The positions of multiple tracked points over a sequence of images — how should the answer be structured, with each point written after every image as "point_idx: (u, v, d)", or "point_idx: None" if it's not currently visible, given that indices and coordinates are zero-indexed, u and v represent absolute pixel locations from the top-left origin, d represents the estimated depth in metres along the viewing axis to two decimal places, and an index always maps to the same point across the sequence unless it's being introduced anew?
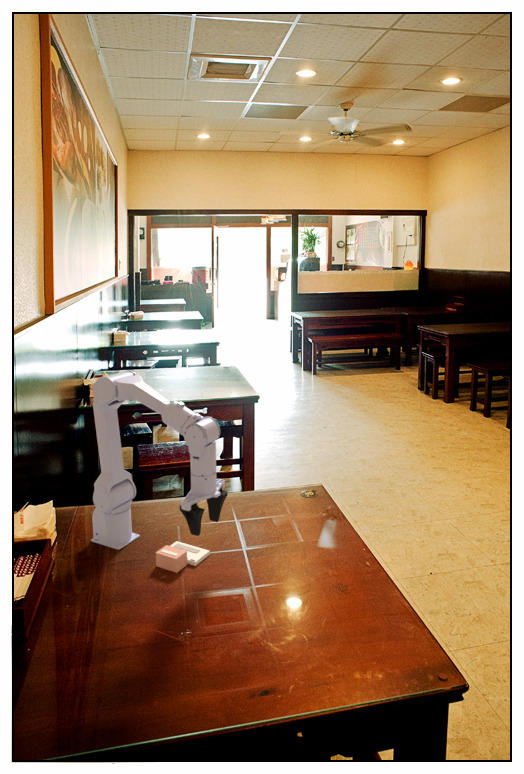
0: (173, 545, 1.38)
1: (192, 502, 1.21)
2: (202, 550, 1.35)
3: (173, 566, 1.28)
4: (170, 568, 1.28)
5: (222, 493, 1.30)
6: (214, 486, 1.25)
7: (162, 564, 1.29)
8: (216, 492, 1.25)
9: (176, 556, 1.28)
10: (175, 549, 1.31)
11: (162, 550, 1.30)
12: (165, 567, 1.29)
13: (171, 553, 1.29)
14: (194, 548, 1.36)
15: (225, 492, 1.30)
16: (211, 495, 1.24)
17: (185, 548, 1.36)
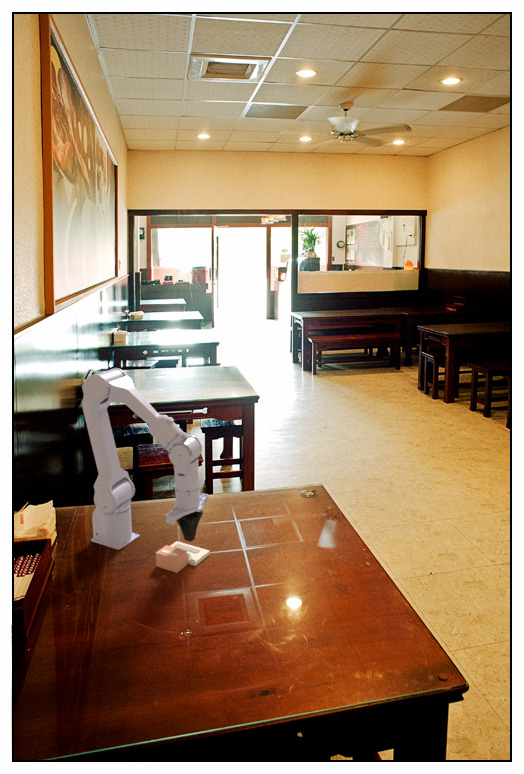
0: (173, 545, 1.38)
1: (176, 516, 1.28)
2: (202, 550, 1.35)
3: (173, 566, 1.28)
4: (170, 568, 1.28)
5: (197, 512, 1.34)
6: (197, 501, 1.32)
7: (162, 564, 1.29)
8: (199, 506, 1.33)
9: (176, 556, 1.28)
10: (175, 549, 1.31)
11: (162, 550, 1.30)
12: (165, 567, 1.29)
13: (171, 553, 1.29)
14: (194, 548, 1.36)
15: (200, 511, 1.35)
16: (194, 509, 1.32)
17: (185, 548, 1.36)
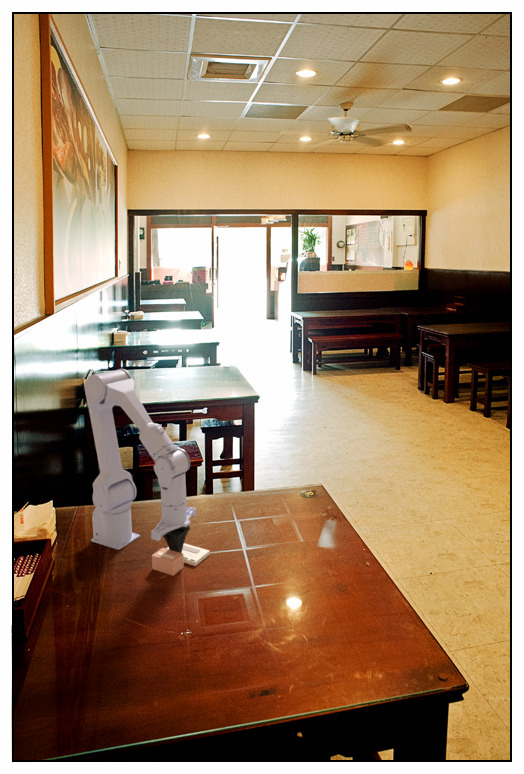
0: None
1: (162, 532, 1.24)
2: (202, 550, 1.35)
3: (170, 569, 1.26)
4: (166, 571, 1.27)
5: (184, 527, 1.30)
6: (184, 515, 1.28)
7: (159, 567, 1.28)
8: (186, 521, 1.28)
9: (172, 558, 1.27)
10: (171, 552, 1.30)
11: (158, 553, 1.29)
12: (161, 570, 1.28)
13: (168, 555, 1.28)
14: (194, 548, 1.36)
15: (187, 526, 1.31)
16: (181, 524, 1.27)
17: (185, 548, 1.36)
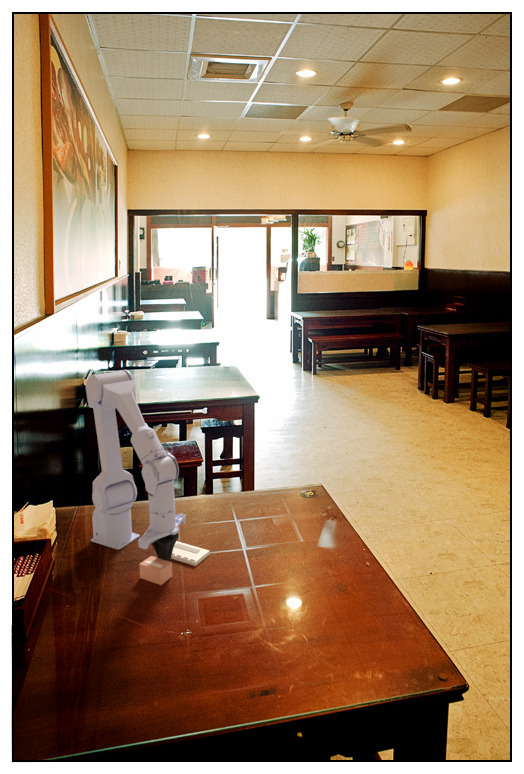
0: None
1: (149, 540, 1.21)
2: (202, 550, 1.35)
3: (158, 578, 1.23)
4: (154, 580, 1.24)
5: (173, 535, 1.26)
6: (173, 523, 1.25)
7: (146, 576, 1.24)
8: (175, 529, 1.25)
9: (160, 567, 1.23)
10: (160, 560, 1.26)
11: (146, 561, 1.26)
12: (149, 579, 1.24)
13: (156, 564, 1.24)
14: (194, 548, 1.36)
15: (176, 534, 1.27)
16: (169, 532, 1.24)
17: (185, 548, 1.36)
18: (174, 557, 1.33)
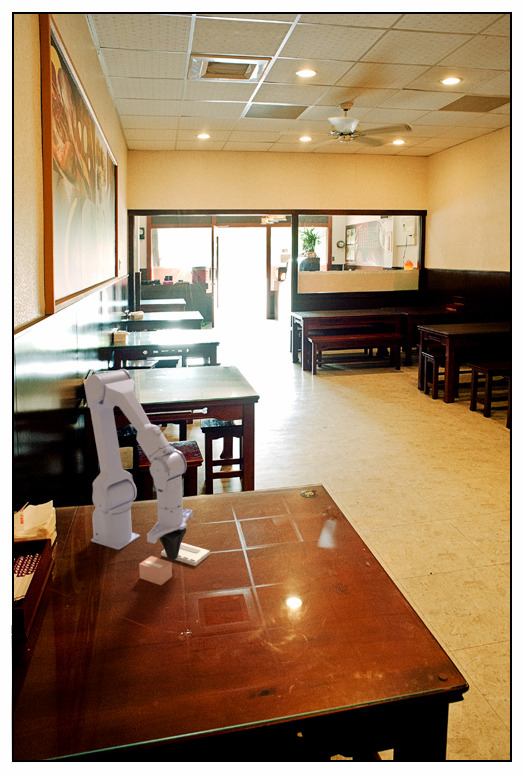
0: None
1: (158, 535, 1.23)
2: (202, 550, 1.35)
3: (157, 578, 1.23)
4: (154, 580, 1.23)
5: (180, 530, 1.29)
6: (180, 518, 1.27)
7: (146, 576, 1.24)
8: (182, 524, 1.27)
9: (160, 567, 1.23)
10: (159, 560, 1.26)
11: (146, 561, 1.26)
12: (149, 579, 1.24)
13: (155, 564, 1.24)
14: (194, 548, 1.36)
15: (184, 529, 1.29)
16: (177, 527, 1.26)
17: (185, 548, 1.36)
18: None
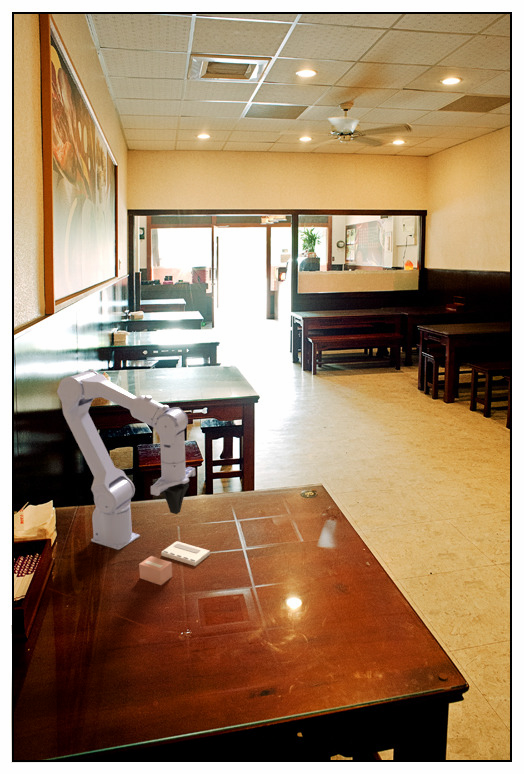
0: (173, 545, 1.38)
1: (161, 487, 1.28)
2: (202, 550, 1.35)
3: (157, 578, 1.23)
4: (154, 580, 1.23)
5: (183, 485, 1.34)
6: (183, 473, 1.32)
7: (146, 576, 1.24)
8: (185, 479, 1.33)
9: (160, 567, 1.23)
10: (159, 560, 1.26)
11: (146, 561, 1.26)
12: (149, 579, 1.24)
13: (155, 564, 1.24)
14: (194, 548, 1.36)
15: (186, 484, 1.35)
16: (180, 481, 1.32)
17: (185, 548, 1.36)
18: (174, 557, 1.33)
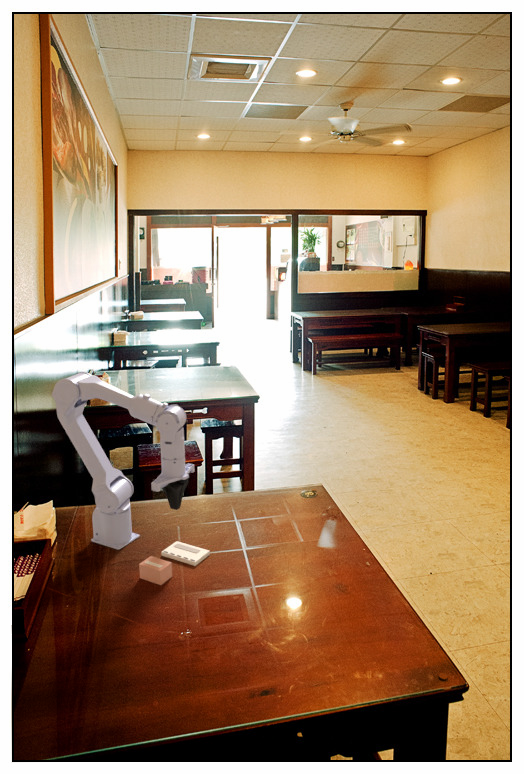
0: (173, 545, 1.38)
1: (161, 483, 1.30)
2: (202, 550, 1.35)
3: (157, 578, 1.23)
4: (154, 580, 1.23)
5: (183, 481, 1.36)
6: (183, 469, 1.34)
7: (146, 576, 1.24)
8: (185, 475, 1.35)
9: (160, 567, 1.23)
10: (159, 560, 1.26)
11: (146, 561, 1.26)
12: (149, 579, 1.24)
13: (155, 564, 1.24)
14: (194, 548, 1.36)
15: (186, 480, 1.37)
16: (180, 477, 1.34)
17: (185, 548, 1.36)
18: (174, 557, 1.33)
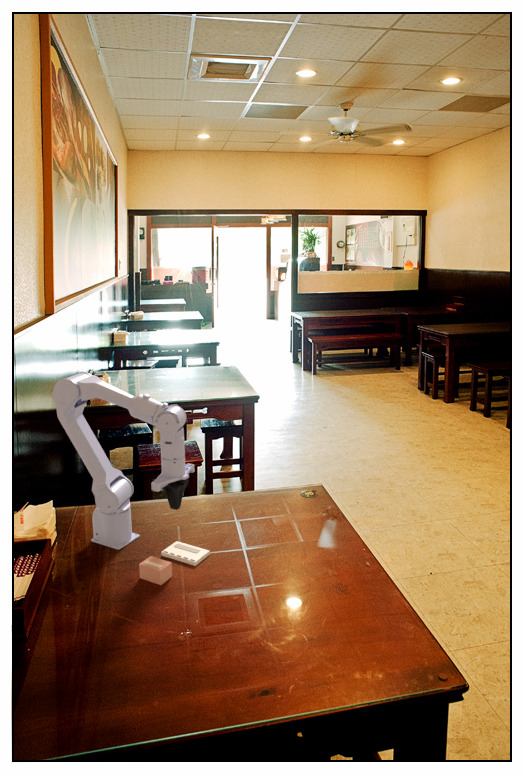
0: (173, 545, 1.38)
1: (161, 483, 1.30)
2: (202, 550, 1.35)
3: (157, 578, 1.23)
4: (154, 580, 1.23)
5: (183, 481, 1.36)
6: (183, 469, 1.34)
7: (146, 576, 1.24)
8: (185, 475, 1.35)
9: (160, 567, 1.23)
10: (159, 560, 1.26)
11: (146, 561, 1.26)
12: (149, 579, 1.24)
13: (155, 564, 1.24)
14: (194, 548, 1.36)
15: (186, 480, 1.37)
16: (180, 477, 1.34)
17: (185, 548, 1.36)
18: (174, 557, 1.33)
